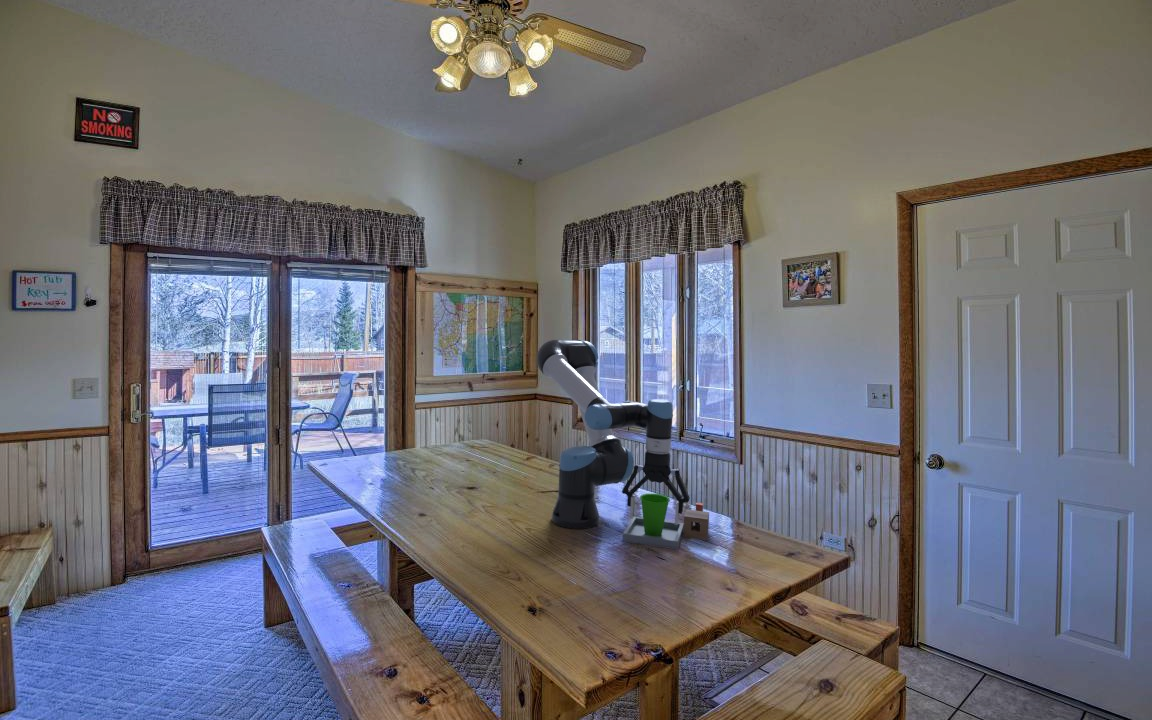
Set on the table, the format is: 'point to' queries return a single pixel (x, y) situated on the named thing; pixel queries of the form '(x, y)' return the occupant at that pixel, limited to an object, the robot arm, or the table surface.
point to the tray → (666, 539)
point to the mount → (696, 529)
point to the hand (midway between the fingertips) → (654, 520)
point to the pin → (699, 508)
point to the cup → (654, 513)
